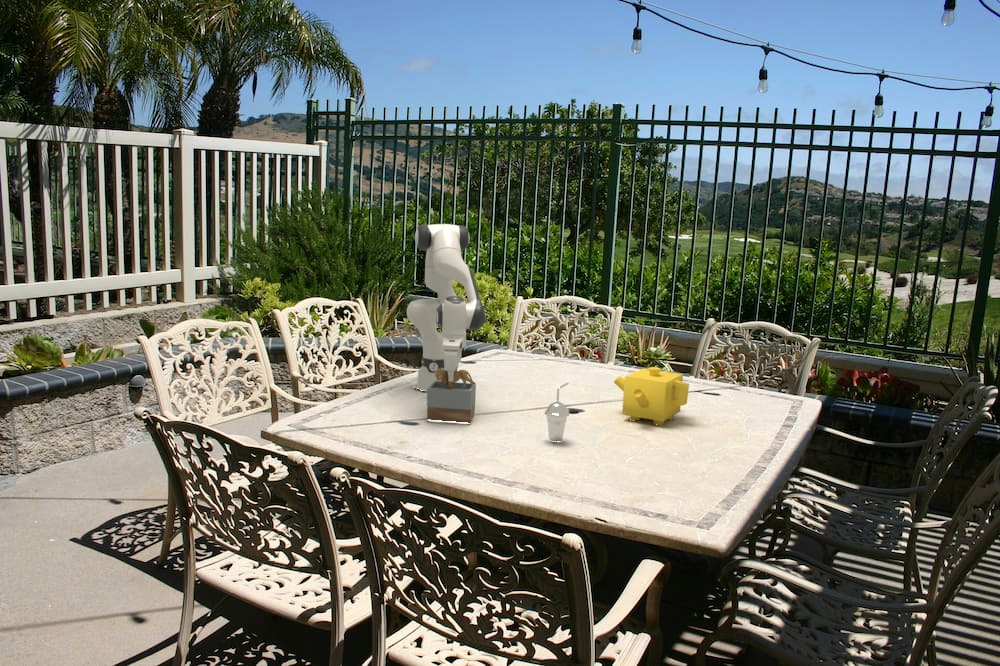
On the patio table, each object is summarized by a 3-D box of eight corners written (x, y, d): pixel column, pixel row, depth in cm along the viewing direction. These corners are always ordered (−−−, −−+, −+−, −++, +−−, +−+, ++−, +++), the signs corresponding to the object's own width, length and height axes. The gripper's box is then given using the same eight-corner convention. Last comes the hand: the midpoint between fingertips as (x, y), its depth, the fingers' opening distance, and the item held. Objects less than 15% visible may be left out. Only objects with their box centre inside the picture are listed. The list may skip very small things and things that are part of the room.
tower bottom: (432, 414, 308) (433, 399, 307) (474, 417, 306) (475, 401, 305) (427, 423, 296) (427, 407, 295) (470, 425, 295) (470, 409, 294)
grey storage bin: (433, 399, 307) (434, 381, 306) (475, 401, 305) (475, 383, 304) (426, 406, 295) (427, 388, 294) (470, 409, 293) (470, 391, 292)
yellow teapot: (629, 403, 335) (632, 355, 331) (698, 415, 320) (702, 365, 317) (594, 421, 305) (597, 369, 302) (668, 435, 290) (673, 380, 287)
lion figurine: (441, 394, 292) (436, 370, 292) (436, 393, 297) (431, 370, 297) (478, 385, 298) (473, 361, 298) (473, 384, 303) (468, 361, 302)
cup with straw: (539, 438, 281) (542, 382, 278) (562, 436, 284) (565, 381, 281) (549, 445, 273) (552, 388, 270) (573, 443, 276) (576, 386, 273)
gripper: (449, 336, 306) (448, 371, 309) (441, 345, 286) (440, 383, 289) (465, 336, 306) (464, 372, 308) (459, 346, 286) (457, 384, 288)
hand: (452, 378), depth 298 cm, fingers open, 8 cm apart
